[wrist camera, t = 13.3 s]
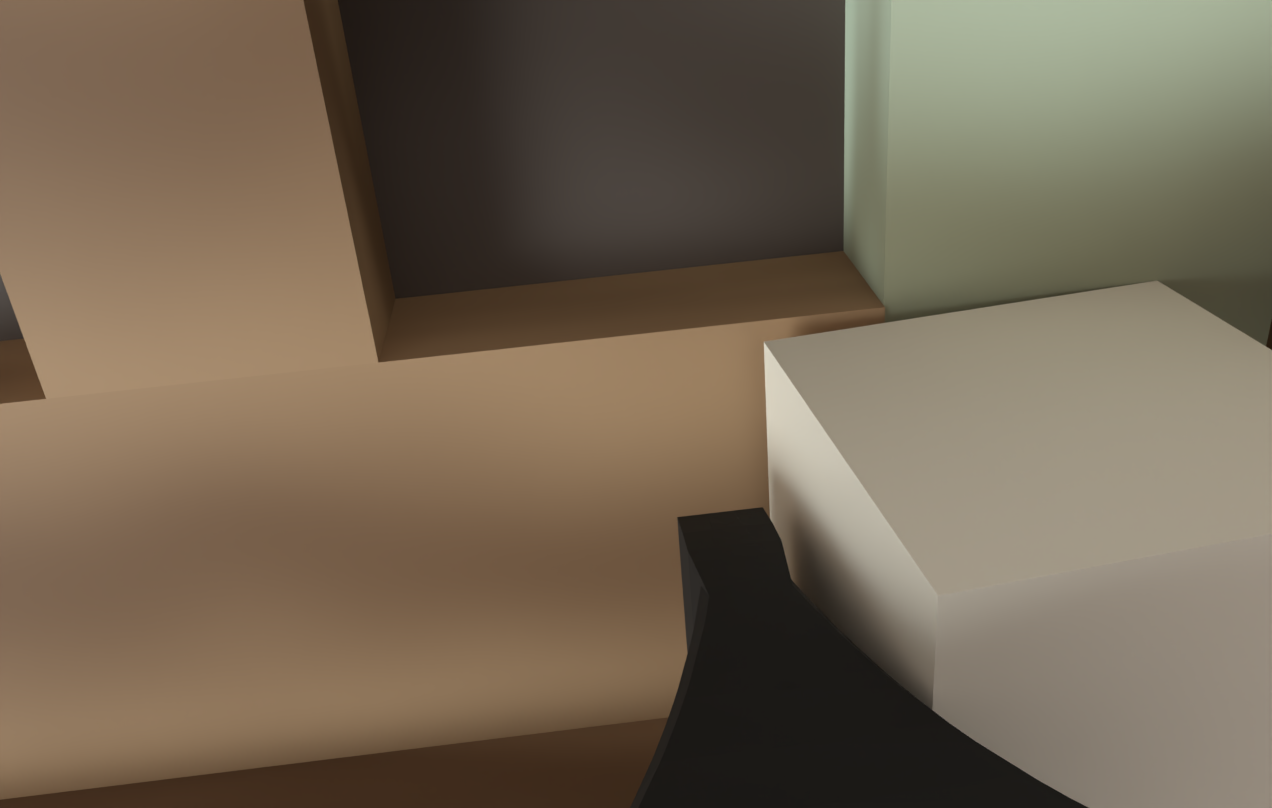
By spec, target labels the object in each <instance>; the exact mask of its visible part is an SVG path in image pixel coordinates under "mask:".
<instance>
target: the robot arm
mask: <svg viewBox="0 0 1272 808" xmlns="http://www.w3.org/2000/svg"><path fill="white" fill-rule="evenodd" d="M677 521H678V535H679V548H680V561H681V575H682V588H683V601H684V615H685V628H686V641H687V657H686V661H685V665H684V668H683V672H682V676H681V679H680V683H679V687H678V690H677V693H676V696H675V699H674V702H673V705H672V708H671V711H670V714H669V717H668V720H667V723H666V725H665V728H664V731H663V733H662V736H661V738H660V741H659V743H658V746H657V748H656V751H655V754H654V756H653V758H652V761H651V763H650V765H649V767H648V769H647V772H646V774H645V776H644V778H643V780H642V783H641V785H640V787H639V789H638V791H637V794H636V796H635V798H634V800H633V802H632V804H631V806H630V808H1088V807H1086V806H1084V805H1083V804H1081V803H1079V802H1077V801H1075V800H1073V799H1071V798H1069V797H1067V796H1066V795H1064V794H1062V793H1060V792H1058V791H1057V790H1055V789H1053V788H1051V787H1050V786H1048V785H1046V784H1044V783H1043V782H1041V781H1039V780H1037V779H1036V778H1034V777H1032V776H1031V775H1029V774H1028V773H1026V772H1024V771H1023V770H1021V769H1020V768H1018V767H1016V766H1015V765H1013V764H1011V763H1010V762H1008V761H1007V760H1005V759H1003V758H1002V757H1000V756H999V755H997V754H995V753H994V752H992V751H990V750H989V749H987V748H986V747H984V746H982V745H981V744H979V743H978V742H976V741H974V740H973V739H972V738H970V737H969V736H967V735H966V734H964V733H963V732H962V731H960V730H959V729H957V728H956V727H954V726H953V725H951V724H950V723H949V722H947V721H946V720H945V719H943V718H942V717H941V716H940V715H938V714H937V713H936V712H934V711H933V710H932V709H930V708H929V707H928V706H926V705H925V704H924V703H922V702H921V701H920V700H918V699H917V698H916V697H915V696H913V695H912V694H911V693H910V692H909V691H907V690H906V689H905V688H904V687H902V686H901V685H900V684H899V683H898V682H896V681H895V680H894V679H893V678H892V677H891V676H889V675H888V674H887V673H886V672H885V671H883V670H882V669H881V668H880V667H879V666H878V665H877V664H876V663H875V662H873V661H872V660H871V659H870V658H869V657H868V656H867V655H866V654H865V653H864V652H862V651H861V650H860V649H859V648H858V647H857V646H856V645H855V644H854V643H853V642H852V641H851V640H850V639H848V638H847V637H846V636H845V635H844V634H843V633H842V632H841V631H840V630H839V629H838V628H837V627H836V626H835V625H834V624H833V623H832V622H831V621H830V620H829V619H828V618H827V617H826V616H825V615H824V614H823V612H822V611H821V610H820V609H819V608H818V607H817V606H816V605H815V604H814V603H813V602H812V601H811V600H810V599H809V598H808V597H807V596H806V595H805V594H804V593H803V592H802V591H801V589H800V588H799V587H798V586H797V585H796V584H795V583H794V582H793V581H792V579H791V576H790V572H789V568H788V564H787V560H786V556H785V552H784V548H783V544H782V541H781V538H780V536H779V534H778V532H777V531H776V529H775V527H774V525H773V523H772V521H771V520H770V518H769V516H768V515H767V513H766V512H765V510H764V508H763V507H760V508H751V509H742V510H734V511H725V512H717V513H708V514H699V515H691V516H682V517H677Z"/></svg>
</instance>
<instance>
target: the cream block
mask: <svg viewBox="0 0 1272 808" xmlns="http://www.w3.org/2000/svg"><path fill="white" fill-rule="evenodd" d="M764 364H765V392H766V420H767V448H768V477H769V505H770V520H771V521H772V523H773V525H774V527H775V529H776V531H777V532H778V534H779V536H780V538H781V541H782V544H783V548H784V552H785V556H786V560H787V564H788V568H789V572H790V576H791V579H792V581H793V582H794V583H795V584H796V585H797V586H798V587H799V588H800V589H801V591H802V592H803V593H804V594H805V595H806V596H807V597H808V598H809V599H810V600H811V601H812V602H813V603H814V604H815V605H816V606H817V607H818V608H819V609H820V610H821V611H822V612H823V614H824V615H825V616H826V617H827V618H828V619H829V620H830V621H831V622H832V623H833V624H834V625H835V626H836V627H837V628H838V629H839V630H840V631H841V632H842V633H843V634H844V635H845V636H846V637H847V638H848V639H850V640H851V641H852V642H853V643H854V644H855V645H856V646H857V647H858V648H859V649H860V650H861V651H862V652H864V653H865V654H866V655H867V656H868V657H869V658H870V659H871V660H872V661H873V662H875V663H876V664H877V665H878V666H879V667H880V668H881V669H882V670H883V671H885V672H886V673H887V674H888V675H889V676H891V677H892V678H893V679H894V680H895V681H896V682H898V683H899V684H900V685H901V686H902V687H904V688H905V689H906V690H907V691H909V692H910V693H911V694H912V695H913V696H915V697H916V698H917V699H918V700H920V701H921V702H922V703H924V704H925V705H926V706H928V707H929V708H930V709H932V710H933V711H934V712H936V713H937V714H938V715H940V716H941V717H942V718H943V719H945V720H946V721H947V722H949V723H950V724H951V725H953V726H954V727H956V728H957V729H959V730H960V731H962V732H963V733H964V734H966V735H967V736H969V737H970V738H972V739H973V740H974V741H976V742H978V743H979V744H981V745H982V746H984V747H986V748H987V749H989V750H990V751H992V752H994V753H995V754H997V755H999V756H1000V757H1002V758H1003V759H1005V760H1007V761H1008V762H1010V763H1011V764H1013V765H1015V766H1016V767H1018V768H1020V769H1021V770H1023V771H1024V772H1026V773H1028V774H1029V775H1031V776H1032V777H1034V778H1036V779H1037V780H1039V781H1041V782H1043V783H1044V784H1046V785H1048V786H1050V787H1051V788H1053V789H1055V790H1057V791H1058V792H1060V793H1062V794H1064V795H1066V796H1067V797H1069V798H1071V799H1073V800H1075V801H1077V802H1079V803H1081V804H1083V805H1084V806H1086V807H1088V808H1272V350H1271V349H1269V348H1268V347H1266V346H1264V345H1263V344H1261V343H1259V342H1258V341H1256V340H1254V339H1253V338H1251V337H1249V336H1248V335H1246V334H1245V333H1243V332H1241V331H1240V330H1238V329H1236V328H1235V327H1233V326H1231V325H1230V324H1228V323H1226V322H1225V321H1223V320H1221V319H1220V318H1218V317H1217V316H1215V315H1213V314H1212V313H1210V312H1208V311H1207V310H1205V309H1203V308H1202V307H1200V306H1198V305H1197V304H1195V303H1193V302H1192V301H1190V300H1189V299H1187V298H1185V297H1184V296H1182V295H1180V294H1179V293H1177V292H1175V291H1174V290H1172V289H1170V288H1169V287H1167V286H1165V285H1164V284H1162V283H1161V282H1159V281H1151V282H1144V283H1138V284H1132V285H1125V286H1119V287H1112V288H1106V289H1099V290H1093V291H1087V292H1080V293H1074V294H1067V295H1061V296H1054V297H1048V298H1041V299H1035V300H1029V301H1022V302H1016V303H1009V304H1003V305H996V306H990V307H984V308H977V309H971V310H964V311H958V312H951V313H945V314H939V315H932V316H926V317H919V318H913V319H906V320H900V321H894V322H887V323H881V324H874V325H868V326H861V327H855V328H848V329H842V330H836V331H829V332H823V333H816V334H810V335H803V336H797V337H791V338H784V339H778V340H771V341H765V342H764Z"/></svg>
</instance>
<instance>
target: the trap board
mask: <svg viewBox="0 0 1272 808" xmlns="http://www.w3.org/2000/svg"><path fill="white" fill-rule="evenodd" d="M1151 281H1159V282H1161V283H1162V284H1164V285H1165V286H1167V287H1169V288H1170V289H1172V290H1174V291H1175V292H1177V293H1179V294H1180V295H1182V296H1184V297H1185V298H1187V299H1189V300H1190V301H1192V302H1193V303H1195V304H1197V305H1198V306H1200V307H1202V308H1203V309H1205V310H1207V311H1208V312H1210V313H1212V314H1213V315H1215V316H1217V317H1218V318H1220V319H1221V320H1223V321H1225V322H1226V323H1228V324H1230V325H1231V326H1233V327H1235V328H1236V329H1238V330H1240V331H1241V332H1243V333H1245V334H1246V335H1248V336H1249V337H1251V338H1253V339H1254V340H1256V341H1258V342H1259V343H1261V344H1263V345H1264V346H1266V347H1268V348H1269V349H1271V350H1272V0H0V808H630V806H631V804H632V802H633V800H634V798H635V796H636V794H637V791H638V789H639V787H640V785H641V783H642V780H643V778H644V776H645V774H646V772H647V769H648V767H649V765H650V763H651V761H652V758H653V756H654V754H655V751H656V748H657V746H658V743H659V741H660V738H661V736H662V733H663V731H664V728H665V725H666V723H667V720H668V717H669V714H670V711H671V708H672V705H673V702H674V699H675V696H676V693H677V690H678V687H679V683H680V679H681V676H682V672H683V668H684V665H685V661H686V657H687V641H686V628H685V615H684V601H683V588H682V575H681V561H680V548H679V535H678V521H677V517H682V516H691V515H699V514H708V513H717V512H725V511H734V510H742V509H751V508H760V507H763V508H764V510H765V512H766V513H767V515H768V516H769V518H770V505H769V477H768V448H767V420H766V392H765V364H764V342H765V341H771V340H778V339H784V338H791V337H797V336H803V335H810V334H816V333H823V332H829V331H836V330H842V329H848V328H855V327H861V326H868V325H874V324H881V323H887V322H894V321H900V320H906V319H913V318H919V317H926V316H932V315H939V314H945V313H951V312H958V311H964V310H971V309H977V308H984V307H990V306H996V305H1003V304H1009V303H1016V302H1022V301H1029V300H1035V299H1041V298H1048V297H1054V296H1061V295H1067V294H1074V293H1080V292H1087V291H1093V290H1099V289H1106V288H1112V287H1119V286H1125V285H1132V284H1138V283H1144V282H1151Z"/></svg>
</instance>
